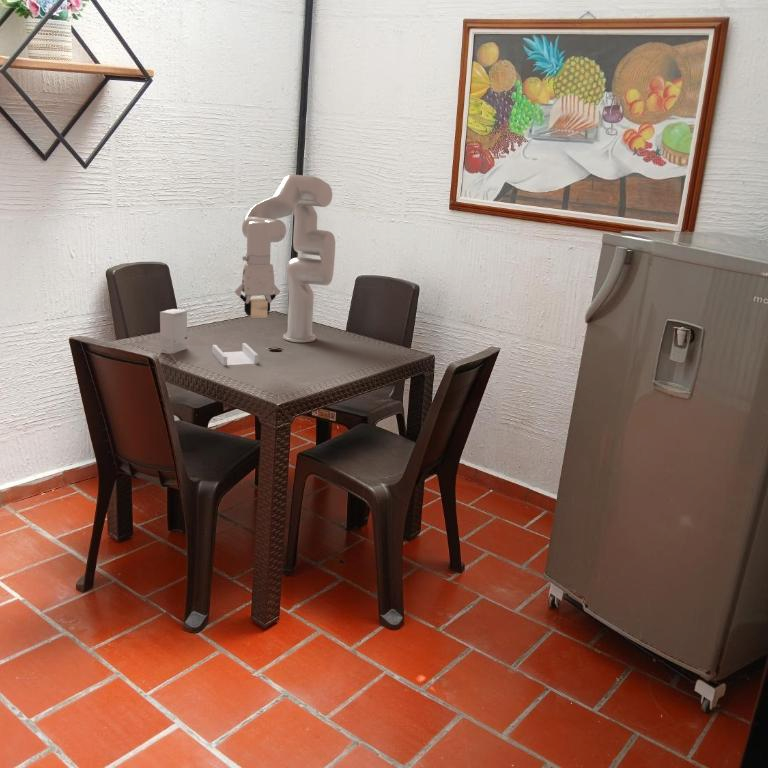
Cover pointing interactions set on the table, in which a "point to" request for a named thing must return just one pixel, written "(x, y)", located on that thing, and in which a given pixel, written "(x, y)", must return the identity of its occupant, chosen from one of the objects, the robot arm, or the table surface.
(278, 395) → the table surface
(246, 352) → the u-shaped channel
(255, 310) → the birch block
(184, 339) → the skincare box
